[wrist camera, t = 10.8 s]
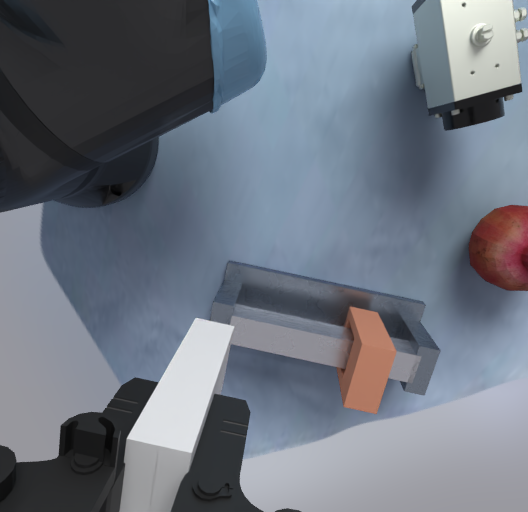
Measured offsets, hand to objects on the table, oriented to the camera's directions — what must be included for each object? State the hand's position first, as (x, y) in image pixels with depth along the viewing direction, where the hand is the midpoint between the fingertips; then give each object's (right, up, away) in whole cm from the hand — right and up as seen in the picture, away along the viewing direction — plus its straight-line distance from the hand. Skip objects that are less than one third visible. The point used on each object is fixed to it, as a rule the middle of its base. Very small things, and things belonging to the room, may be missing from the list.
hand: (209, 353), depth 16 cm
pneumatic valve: (+18, +22, +23) cm, 37 cm away
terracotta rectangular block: (+12, -5, +28) cm, 31 cm away
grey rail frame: (+8, -3, +31) cm, 32 cm away
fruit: (+26, +6, +27) cm, 38 cm away
